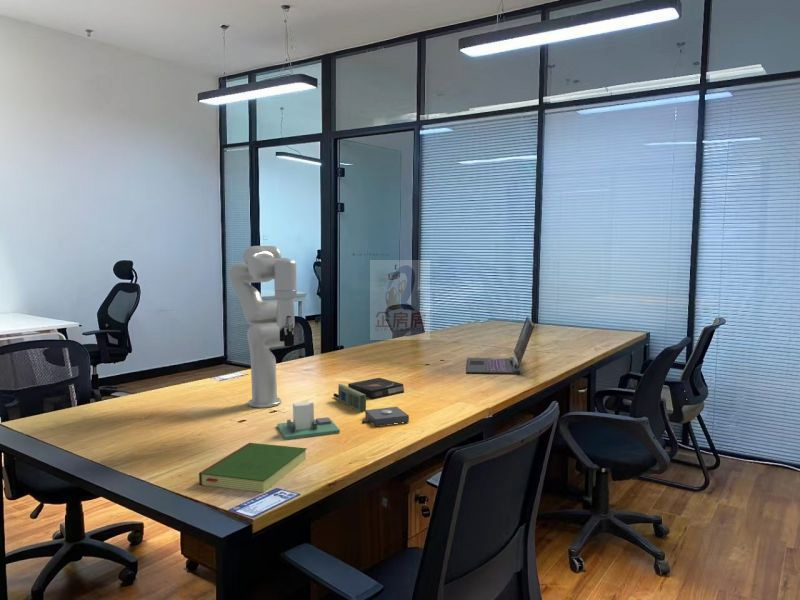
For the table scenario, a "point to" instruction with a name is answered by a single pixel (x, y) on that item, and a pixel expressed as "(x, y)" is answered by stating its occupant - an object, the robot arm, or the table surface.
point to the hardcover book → (253, 467)
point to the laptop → (503, 363)
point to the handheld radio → (351, 398)
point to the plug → (303, 415)
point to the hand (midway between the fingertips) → (286, 343)
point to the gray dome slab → (386, 416)
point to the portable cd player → (377, 387)
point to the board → (318, 428)
